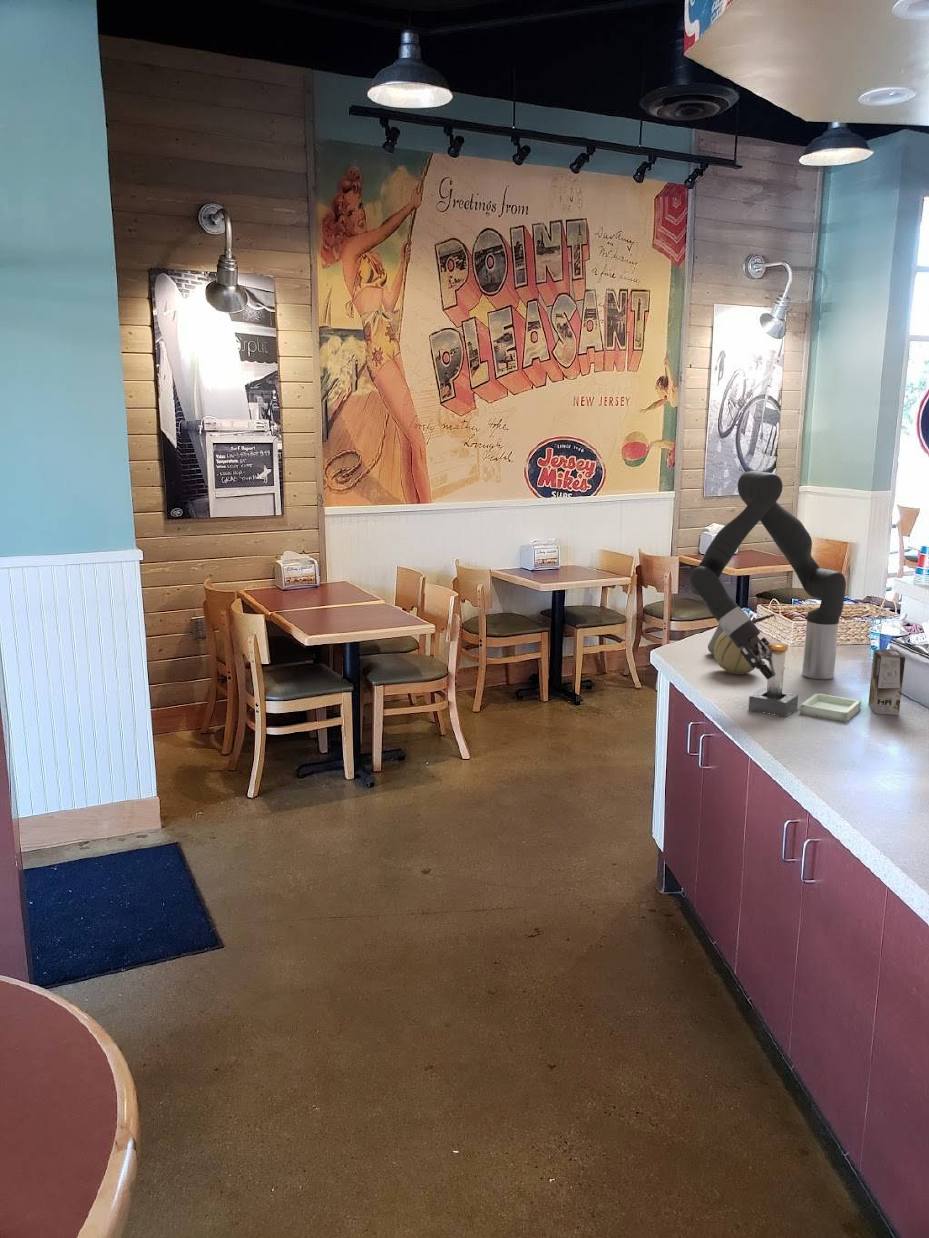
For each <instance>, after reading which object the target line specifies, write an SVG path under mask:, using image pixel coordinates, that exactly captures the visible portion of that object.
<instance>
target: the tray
mask: <svg viewBox="0 0 929 1238" xmlns="http://www.w3.org/2000/svg"><path fill="white" fill-rule="evenodd" d="M861 705H862V700H859V699H853V698H848V697H842V696H837V695H829V694H825V693H819V692H816V693H814V694H813V695H812V696H810V697H809V698H807V700H805V701H804V702H802V703H800V707H799V714H801V713H803V714H802V715H806V714H808V715H807V716H811V715H813V716H812V717H816V716H818V717H817V718H821V717H823V719H827V718H828V719H827V720H832V719H834V720H833V721H837V720H839V721H838V722H842V721H843V722H842V723H847V722H848V721H849V720H850V719H851V718H853V716H855V715H856V714H858V713H859V711H860V710H861V709H862V708H861V707H862V706H861Z"/></svg>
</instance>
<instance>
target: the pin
mask: <svg viewBox="0 0 929 1238" xmlns="http://www.w3.org/2000/svg"><path fill="white" fill-rule="evenodd" d="M788 647H789V645H788V644H783V643H778V642H777V643H776V642H773V643H770V644H769V645H768V649H770V656H769V661H768V667H769V669H770V670H771V671H772V672H773V674H774V676H773V677H771V678H770V679H767V680H766V681H767V684H766V689H767V693H766V697H770V698H776V699H782V692H783V685H784V674H785V673H784V672H785V669H784V668H785V663H786V652H787V651H788V650H789V649H788Z"/></svg>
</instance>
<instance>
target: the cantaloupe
mask: <svg viewBox="0 0 929 1238" xmlns="http://www.w3.org/2000/svg"><path fill="white" fill-rule="evenodd" d="M757 637H758V638H759V639H760V637H759V635H758V636H757ZM743 648H744V647H741V648H737V647H736V645H735V644H734V643H733V641H732V640H731V639H730V638H729V636H728V635H727V634H726V633H725V631H724V632H722V633H721V634H720V636H719V637H718V639H717V640H716V643H715V647H714V656H713V657H714V660H715V662H716V663H717V665H718V666H719V667H720V668H721V669H722V670H724V671H725V672H726V673H729V674H733V675H744V674H745V675H746V674H748V673H751V672H753V671H754V670H755V669H757V668H756V667H755V668H752V667H751V665H750V664H749V663H748V661H747V660H746V659H745V657H744V656H743V655H742V653H741V652H740V651H741V650H742V649H743Z"/></svg>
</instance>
